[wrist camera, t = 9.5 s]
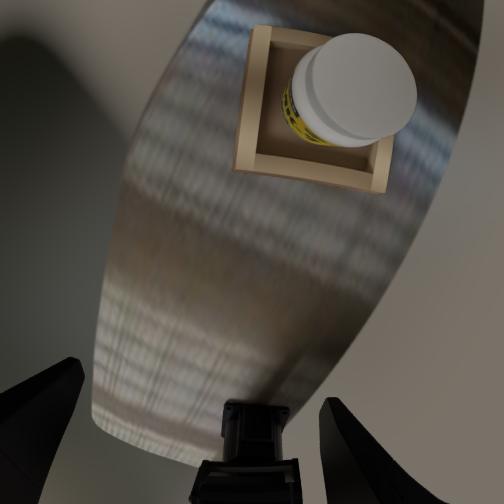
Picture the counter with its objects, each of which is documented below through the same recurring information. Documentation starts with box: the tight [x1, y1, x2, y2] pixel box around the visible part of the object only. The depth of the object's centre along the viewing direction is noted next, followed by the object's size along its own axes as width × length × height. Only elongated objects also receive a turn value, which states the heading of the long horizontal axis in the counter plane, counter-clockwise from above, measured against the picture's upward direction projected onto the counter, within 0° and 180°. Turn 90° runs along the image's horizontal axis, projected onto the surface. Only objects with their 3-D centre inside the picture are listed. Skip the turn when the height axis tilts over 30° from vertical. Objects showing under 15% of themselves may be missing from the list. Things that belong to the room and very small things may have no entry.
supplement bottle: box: [281, 33, 417, 147], centre depth 12 cm, size 5×5×8 cm
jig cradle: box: [232, 25, 394, 195], centre depth 15 cm, size 10×10×2 cm
